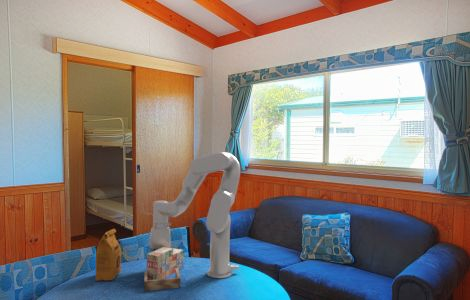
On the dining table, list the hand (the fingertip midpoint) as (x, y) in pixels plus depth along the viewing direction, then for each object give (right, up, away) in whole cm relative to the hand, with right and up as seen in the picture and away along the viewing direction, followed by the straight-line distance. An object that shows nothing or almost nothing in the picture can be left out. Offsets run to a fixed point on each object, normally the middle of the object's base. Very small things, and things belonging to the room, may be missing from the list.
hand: (160, 261), depth 170 cm
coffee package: (-22, -4, -11) cm, 25 cm away
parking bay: (+5, -4, -18) cm, 19 cm away
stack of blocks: (+4, -5, -5) cm, 8 cm away
